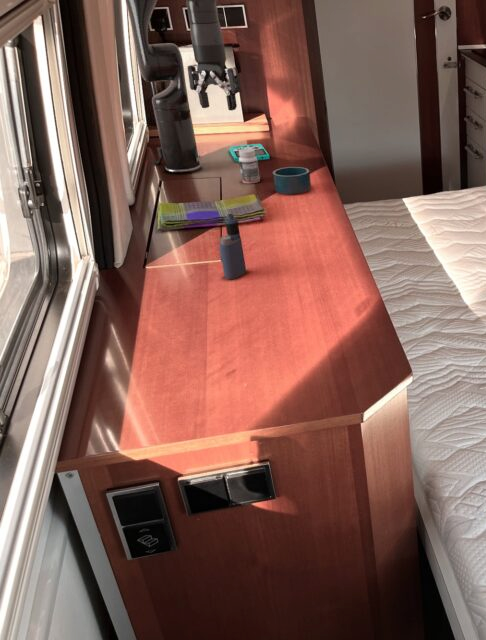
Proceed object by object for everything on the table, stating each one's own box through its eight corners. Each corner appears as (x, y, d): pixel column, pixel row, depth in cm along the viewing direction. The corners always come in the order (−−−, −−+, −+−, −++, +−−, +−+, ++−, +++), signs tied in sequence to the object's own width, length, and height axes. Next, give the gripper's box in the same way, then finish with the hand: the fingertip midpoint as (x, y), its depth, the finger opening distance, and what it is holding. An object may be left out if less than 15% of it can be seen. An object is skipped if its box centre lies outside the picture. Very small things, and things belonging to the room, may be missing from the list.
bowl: (269, 189, 214) (266, 170, 212) (301, 183, 219) (299, 165, 217) (285, 197, 208) (282, 178, 206) (317, 191, 213) (315, 172, 211)
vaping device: (249, 271, 164) (239, 213, 158) (233, 280, 160) (223, 221, 154) (238, 269, 165) (228, 212, 159) (222, 278, 160) (211, 220, 155)
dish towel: (158, 210, 198) (156, 199, 196) (261, 201, 205) (260, 190, 204) (158, 233, 184) (155, 221, 182) (268, 222, 191) (267, 210, 190)
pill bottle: (244, 179, 223) (239, 148, 219) (261, 178, 223) (257, 148, 219) (240, 183, 219) (235, 152, 215) (258, 183, 219) (253, 152, 215)
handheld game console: (262, 147, 254) (261, 142, 254) (270, 159, 242) (270, 154, 241) (229, 150, 251) (228, 145, 250) (236, 162, 238) (235, 157, 238)
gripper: (240, 41, 205) (250, 108, 213) (195, 38, 209) (206, 104, 217) (221, 45, 199) (232, 113, 207) (174, 42, 203) (187, 109, 211)
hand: (218, 108), depth 212 cm, fingers open, 8 cm apart
